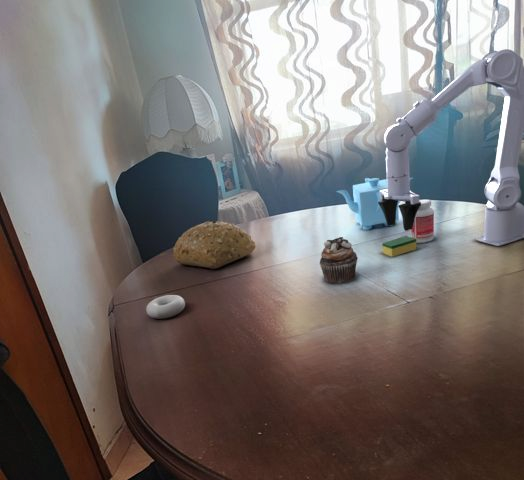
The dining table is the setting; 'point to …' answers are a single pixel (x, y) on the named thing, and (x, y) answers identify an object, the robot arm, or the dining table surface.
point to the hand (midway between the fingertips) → (399, 227)
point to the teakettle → (368, 202)
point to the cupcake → (338, 261)
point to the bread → (212, 245)
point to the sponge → (399, 246)
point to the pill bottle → (423, 223)
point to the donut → (165, 306)
